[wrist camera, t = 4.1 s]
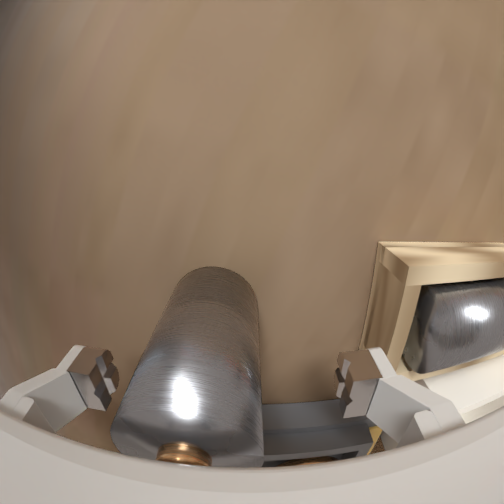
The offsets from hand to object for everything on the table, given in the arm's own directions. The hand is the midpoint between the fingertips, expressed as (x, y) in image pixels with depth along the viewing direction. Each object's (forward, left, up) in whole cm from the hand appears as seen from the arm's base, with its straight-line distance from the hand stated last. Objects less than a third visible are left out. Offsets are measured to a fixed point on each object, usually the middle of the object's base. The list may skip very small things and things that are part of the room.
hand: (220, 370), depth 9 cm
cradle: (+4, -11, -4) cm, 12 cm away
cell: (-1, 0, -4) cm, 4 cm away
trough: (+12, 0, -4) cm, 13 cm away
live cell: (+12, 0, -4) cm, 13 cm away
